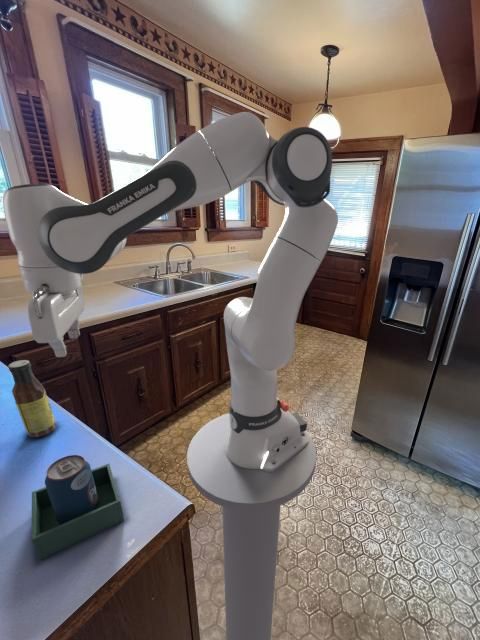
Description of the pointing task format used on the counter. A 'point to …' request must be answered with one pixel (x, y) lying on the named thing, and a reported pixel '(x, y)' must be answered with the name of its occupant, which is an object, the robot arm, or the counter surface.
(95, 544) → the counter surface
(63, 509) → the soda can
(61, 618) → the counter surface
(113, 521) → the bin
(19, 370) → the sauce bottle
